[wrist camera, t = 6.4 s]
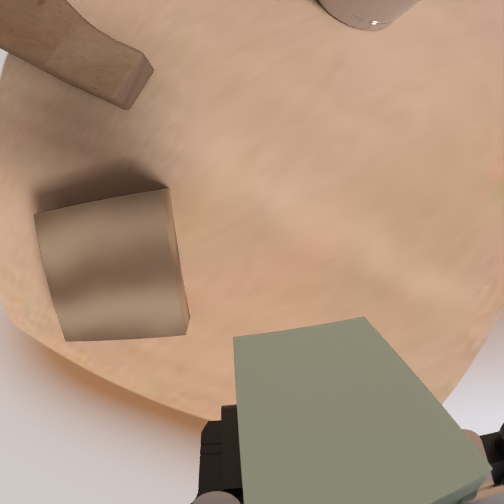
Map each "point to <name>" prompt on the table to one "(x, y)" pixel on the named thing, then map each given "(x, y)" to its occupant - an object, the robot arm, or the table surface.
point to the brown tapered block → (115, 268)
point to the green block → (344, 423)
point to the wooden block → (73, 49)
